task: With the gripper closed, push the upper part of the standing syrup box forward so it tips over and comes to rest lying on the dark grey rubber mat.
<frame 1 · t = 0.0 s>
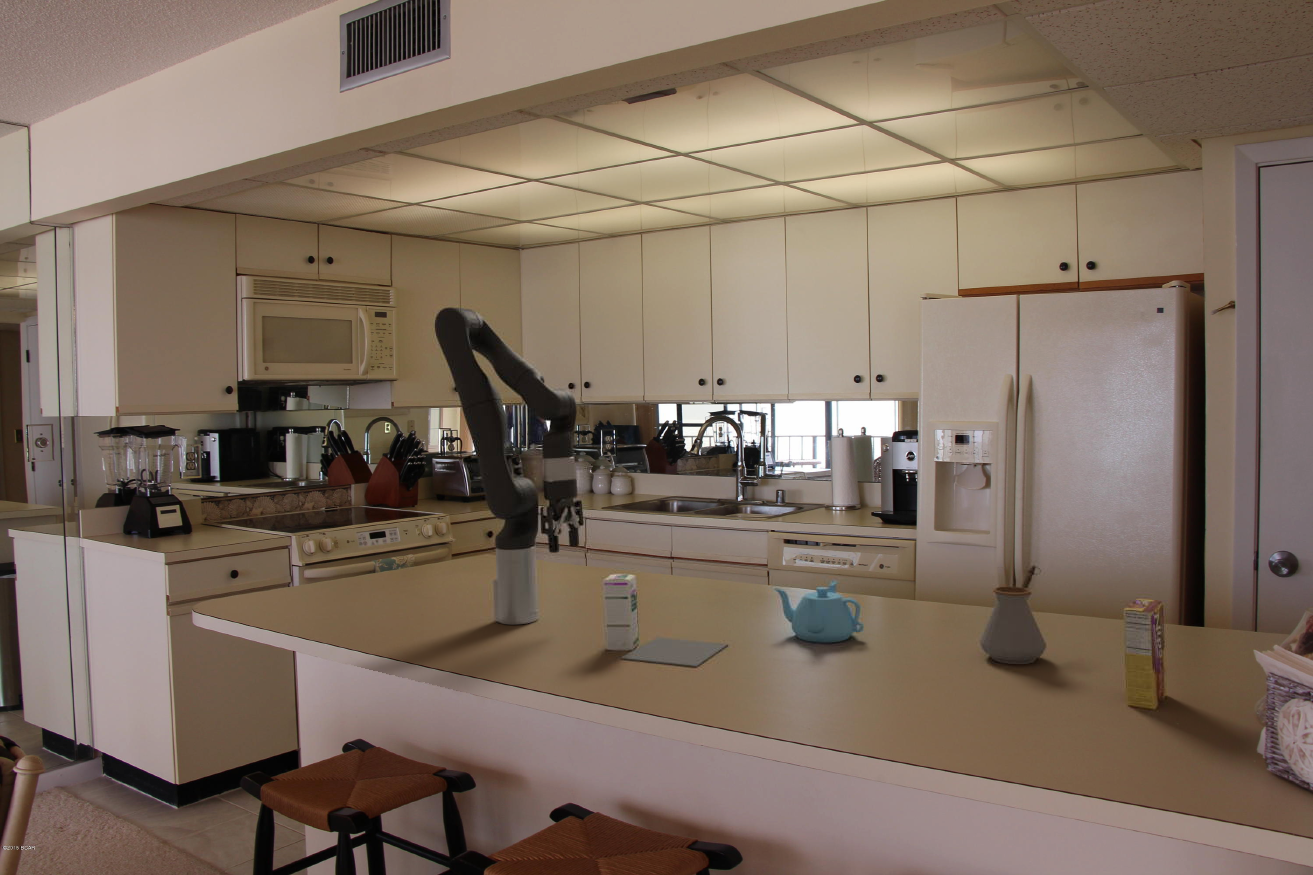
hand: (564, 549, 203), 17 cm above the counter, tool pointing down, fingers open, 8 cm apart
candy box: (1146, 701, 142), on the counter
syrup box: (622, 647, 184), on the counter
coffee pot: (1020, 653, 171), on the counter
mat: (675, 652, 179), on the counter
teapot: (818, 637, 187), on the counter
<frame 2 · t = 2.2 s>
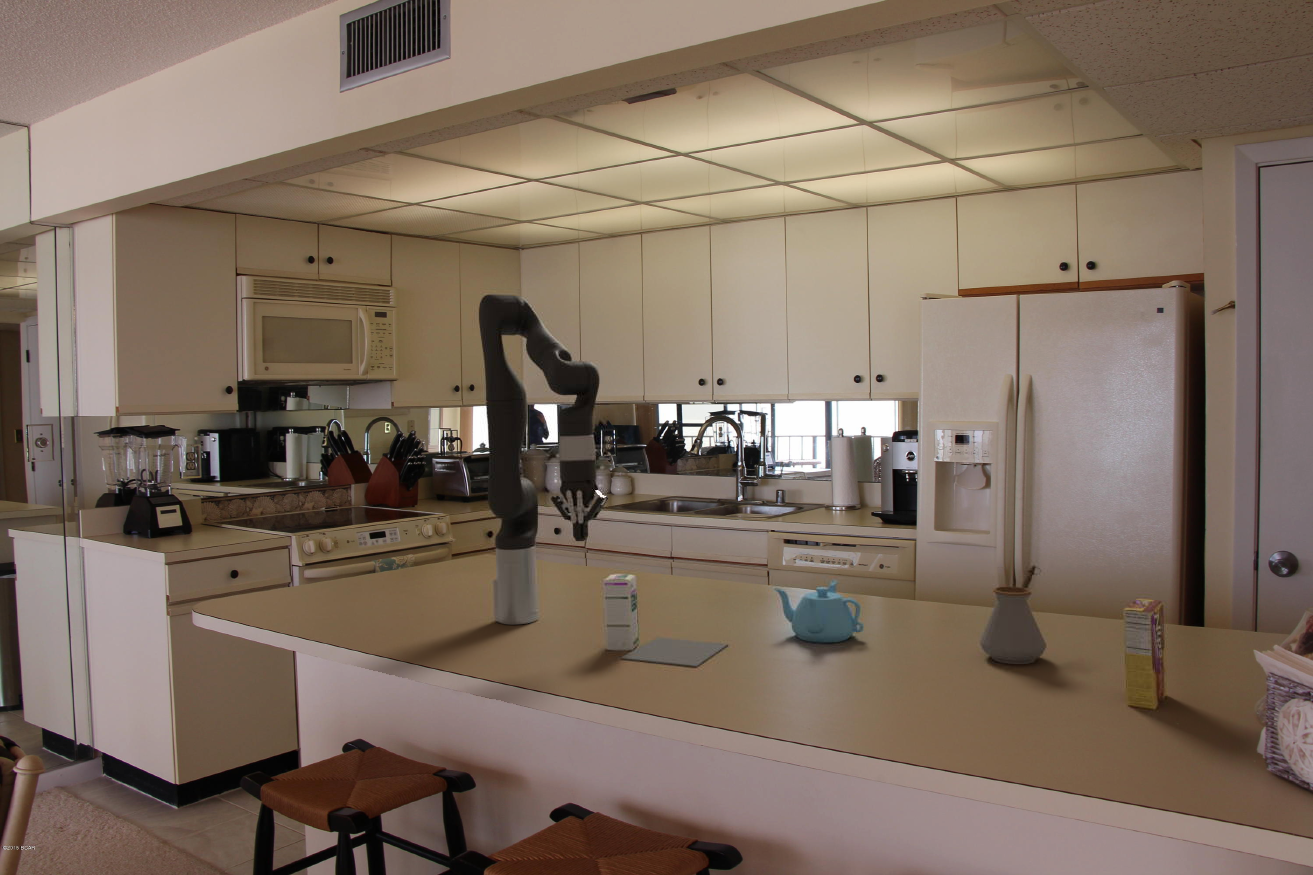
hand: (581, 540, 187), 21 cm above the counter, tool pointing down, fingers closed
nothing on the counter moved.
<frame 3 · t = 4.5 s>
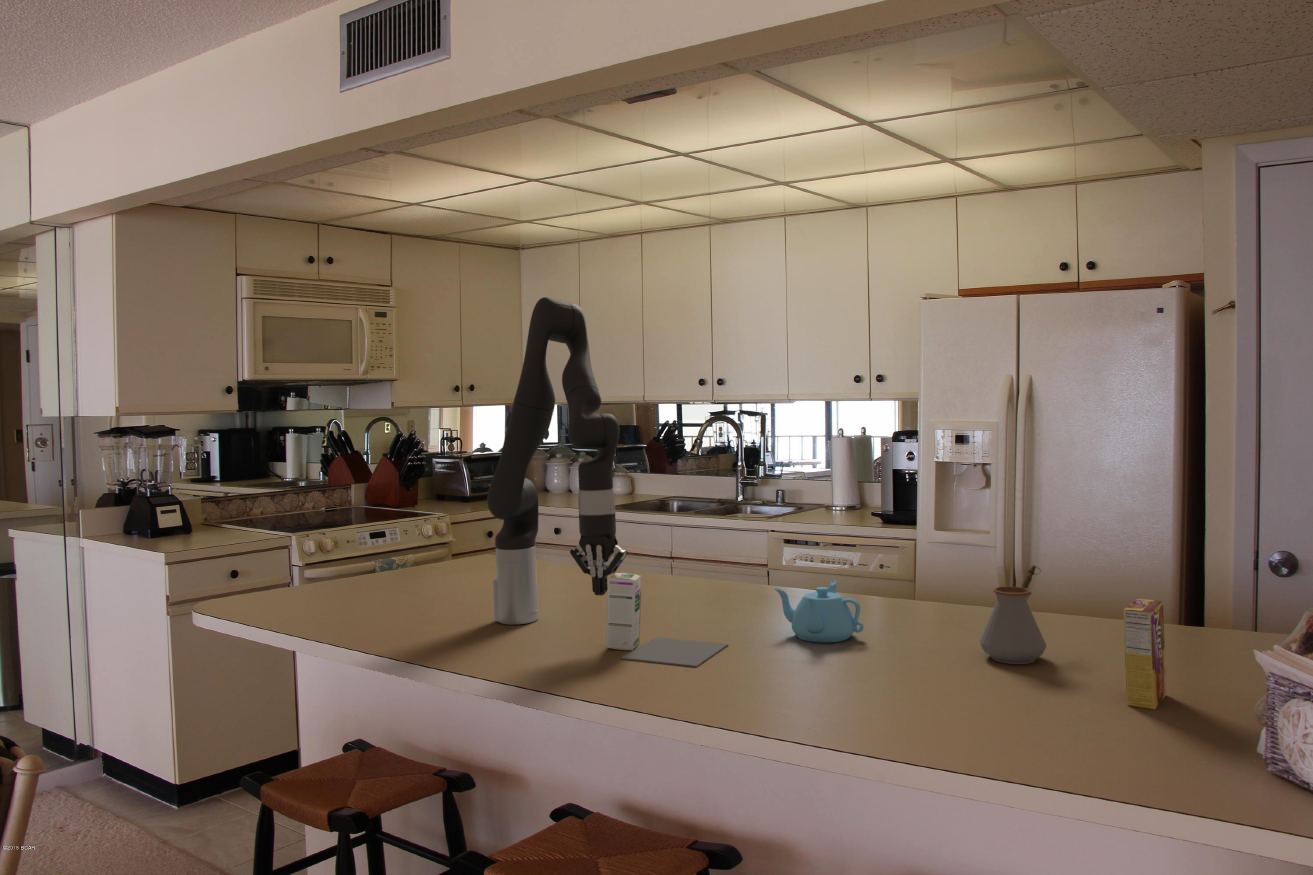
hand: (600, 594, 186), 10 cm above the counter, tool pointing down, fingers closed
syrup box: (622, 646, 184), on the counter, touching gripper, hand
everything else where it was.
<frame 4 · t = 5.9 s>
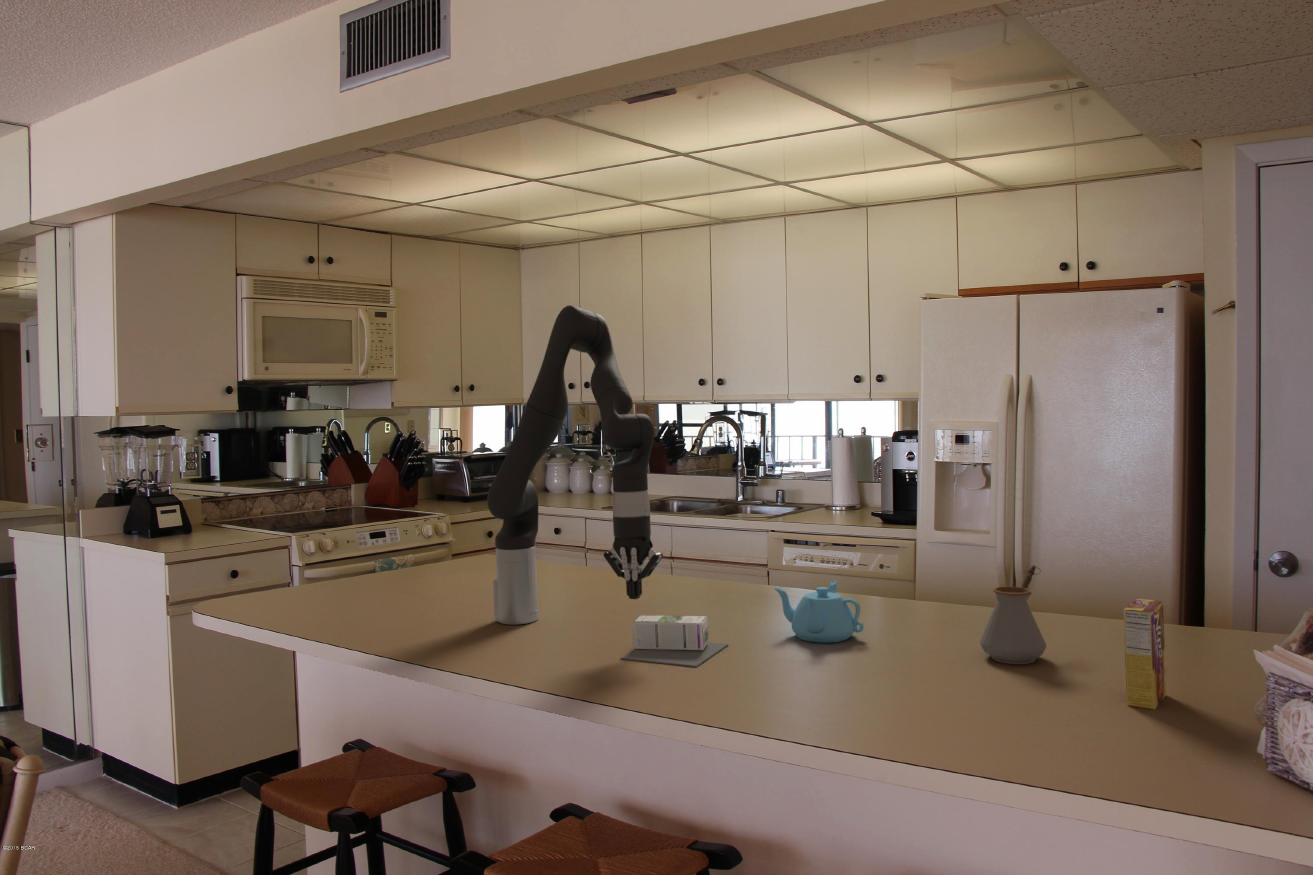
hand: (634, 598, 182), 10 cm above the counter, tool pointing down, fingers closed
syrup box: (634, 631, 183), point 3 cm above the counter, touching mat
everything else where it was.
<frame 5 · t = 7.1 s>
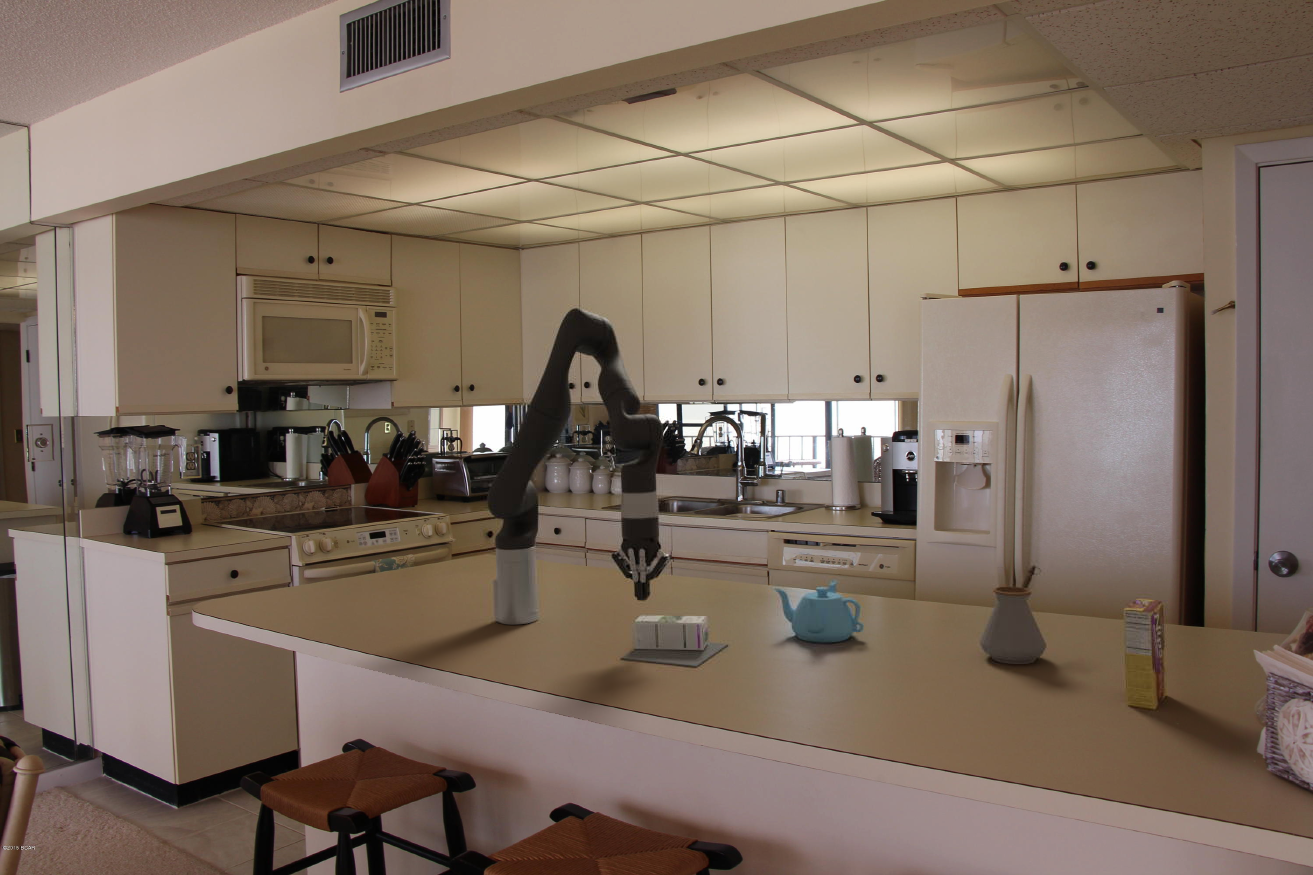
hand: (642, 599, 181), 10 cm above the counter, tool pointing down, fingers closed
nothing on the counter moved.
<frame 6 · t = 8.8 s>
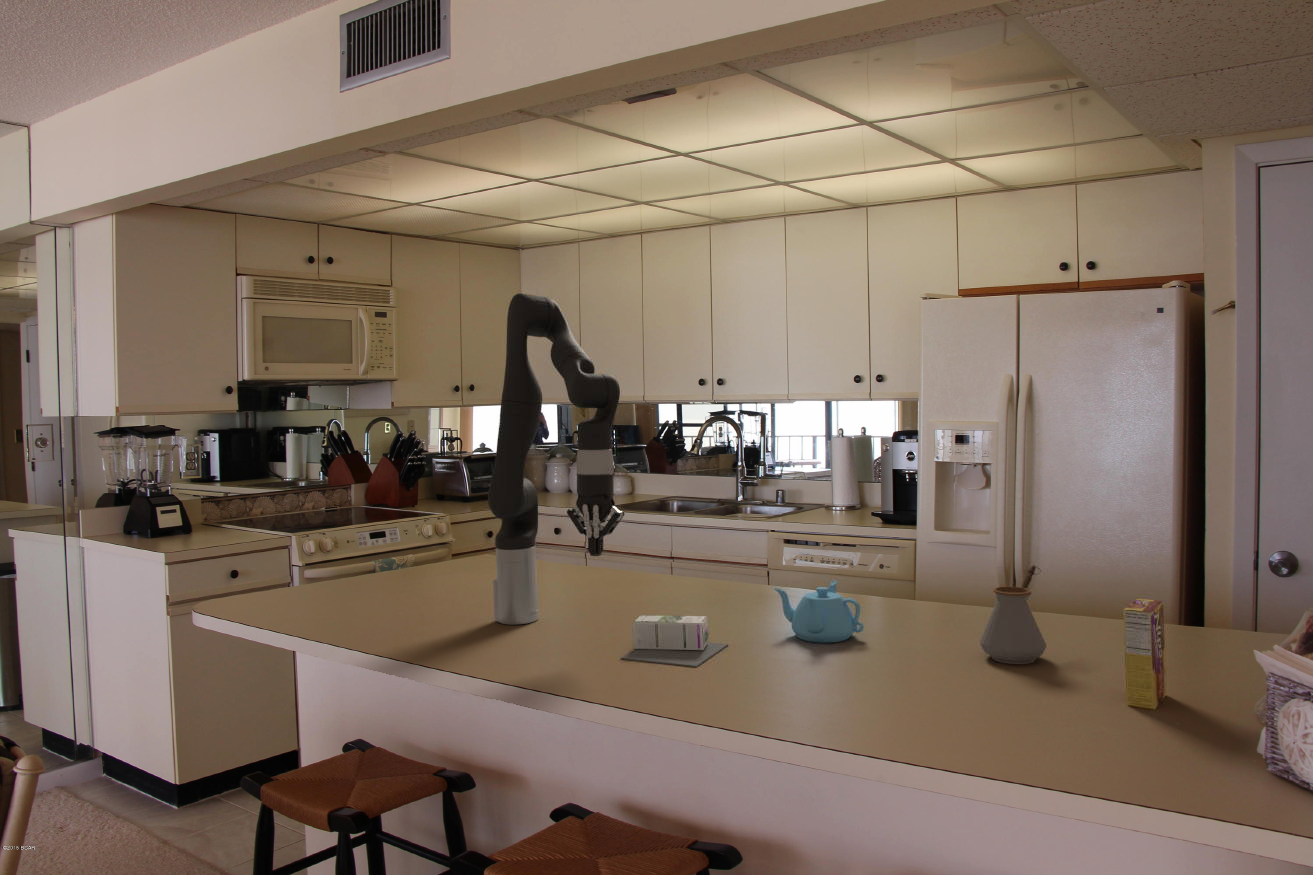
hand: (595, 555, 185), 19 cm above the counter, tool pointing down, fingers closed
nothing on the counter moved.
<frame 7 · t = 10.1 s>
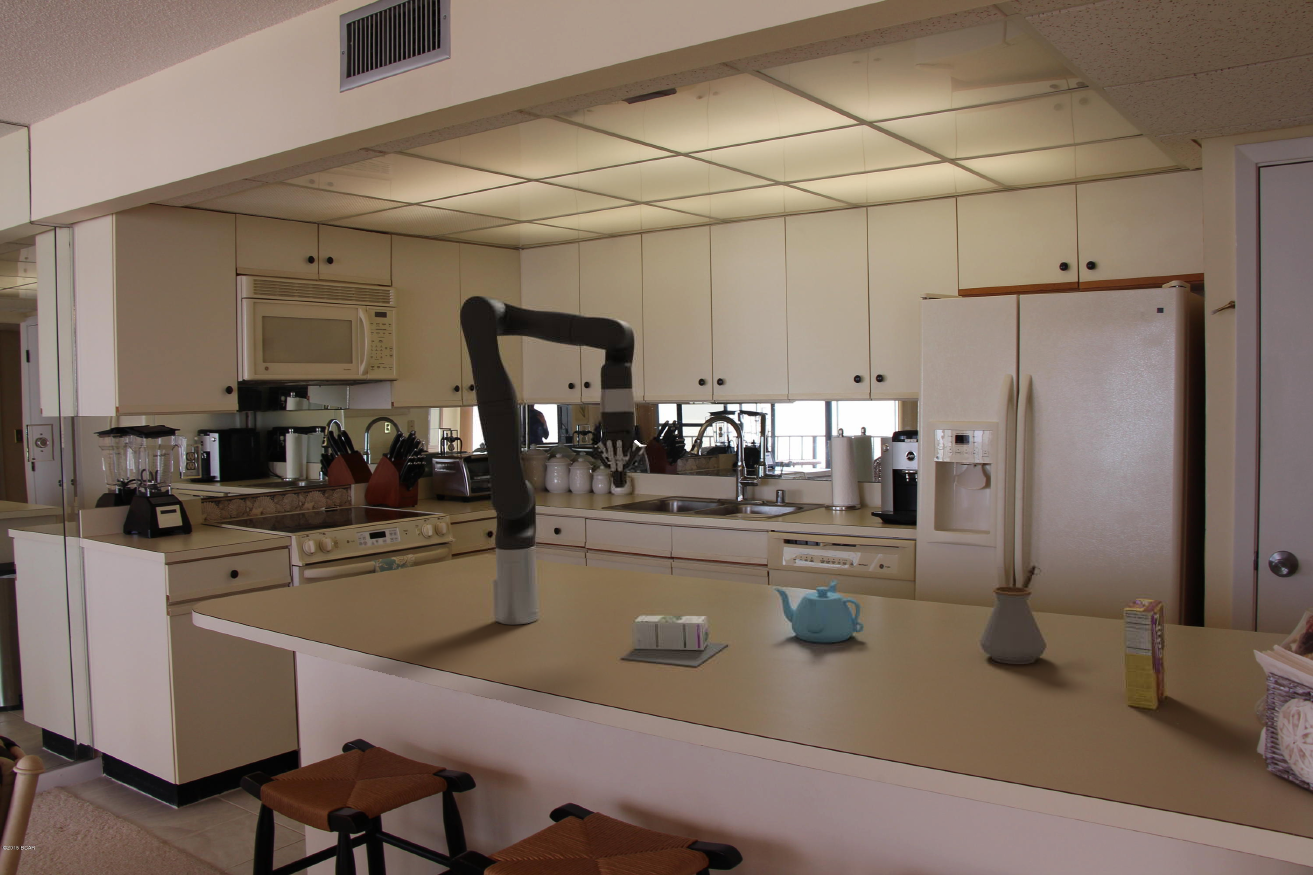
hand: (620, 487, 200), 31 cm above the counter, tool pointing down, fingers closed
nothing on the counter moved.
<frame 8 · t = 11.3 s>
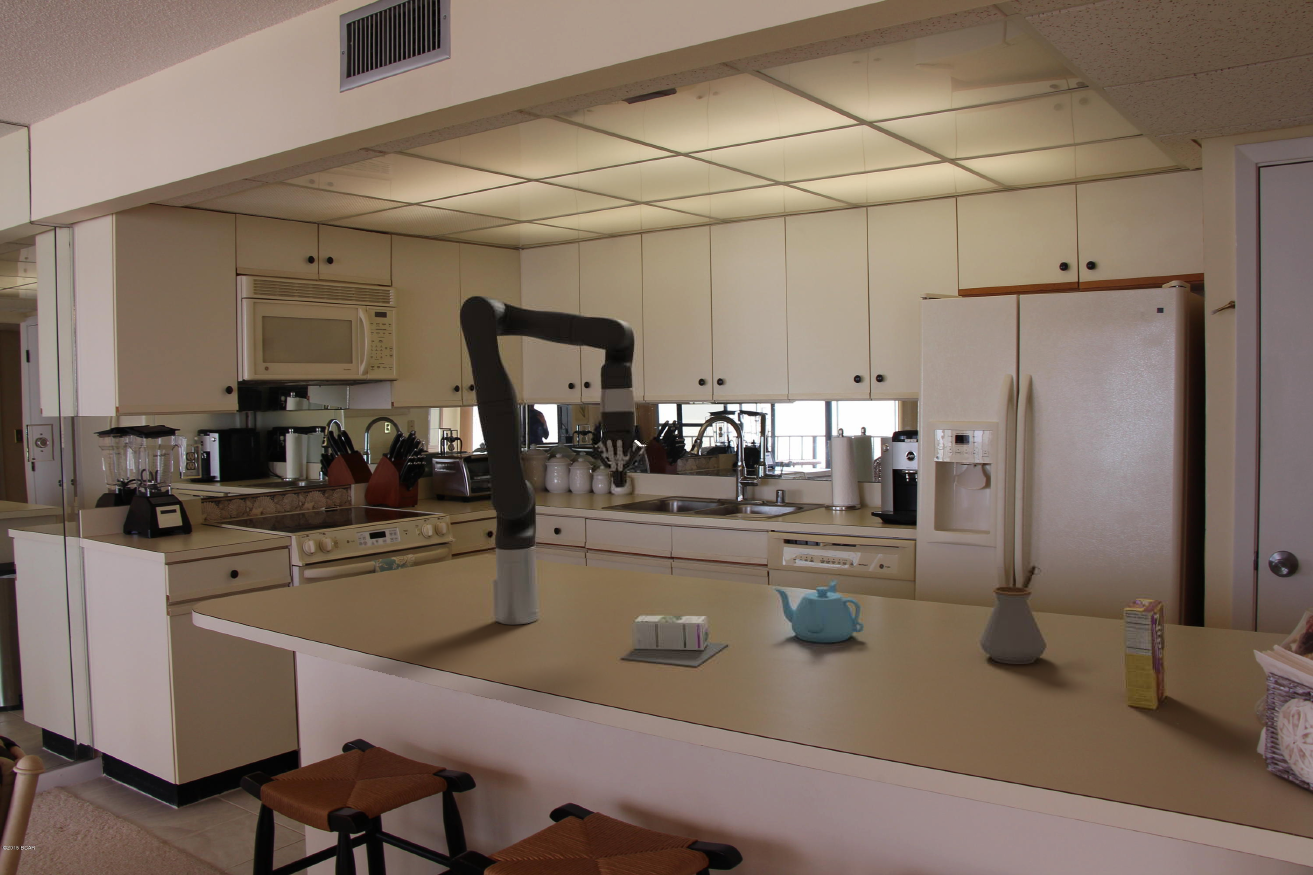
hand: (620, 487, 201), 31 cm above the counter, tool pointing down, fingers closed
nothing on the counter moved.
at the end: syrup box tilted 90°; syrup box inside the target area (9.8 cm from its centre), point 3.3 cm above the counter; syrup box touching mat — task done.
